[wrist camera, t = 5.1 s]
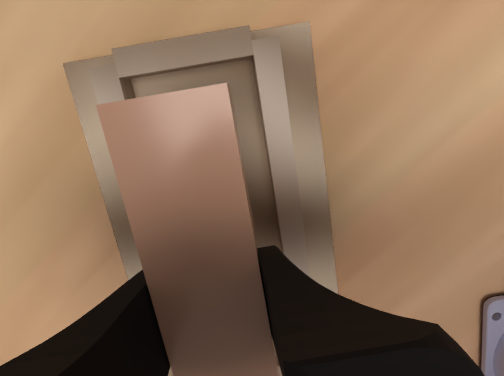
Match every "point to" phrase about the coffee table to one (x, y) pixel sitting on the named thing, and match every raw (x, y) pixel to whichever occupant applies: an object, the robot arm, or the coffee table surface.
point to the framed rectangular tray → (248, 123)
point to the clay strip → (193, 228)
